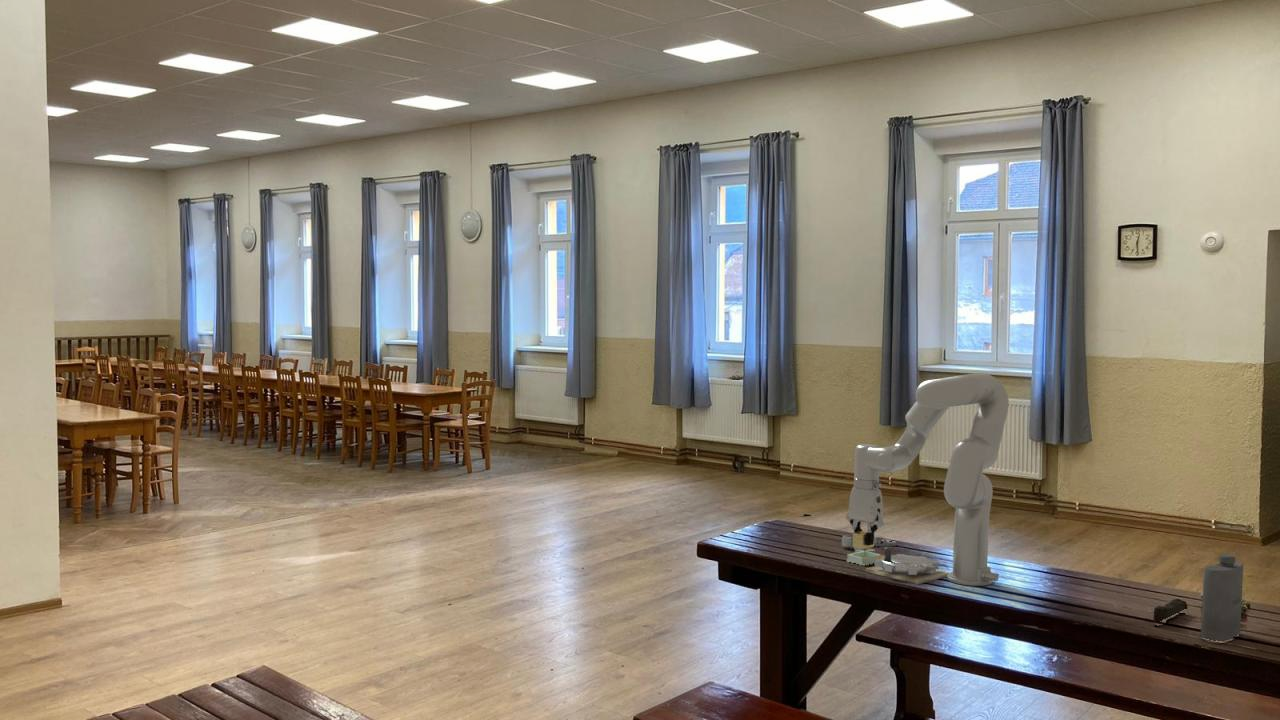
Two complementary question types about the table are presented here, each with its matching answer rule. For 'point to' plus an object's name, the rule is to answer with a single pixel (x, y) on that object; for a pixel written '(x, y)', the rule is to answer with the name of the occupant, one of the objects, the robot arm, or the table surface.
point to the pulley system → (848, 542)
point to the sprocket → (905, 563)
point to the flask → (1222, 599)
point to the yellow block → (860, 540)
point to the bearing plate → (906, 577)
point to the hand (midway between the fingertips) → (863, 542)
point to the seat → (862, 558)
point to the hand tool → (1169, 609)
